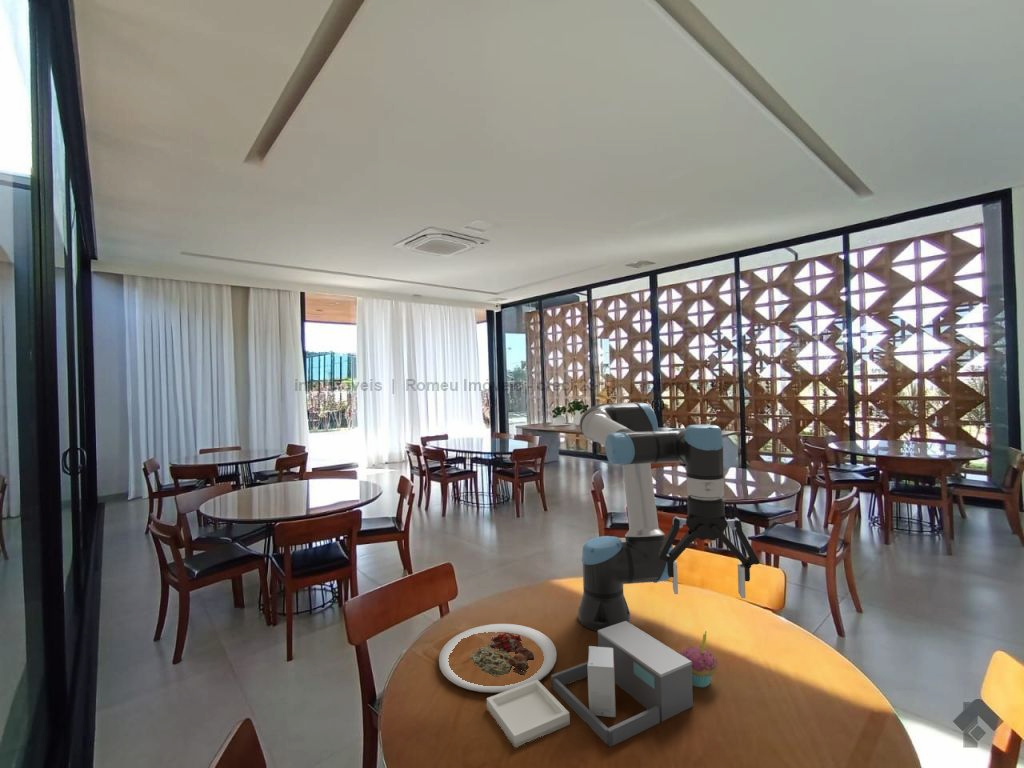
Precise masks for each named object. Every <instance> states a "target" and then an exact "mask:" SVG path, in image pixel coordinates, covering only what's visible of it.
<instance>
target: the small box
mask: <svg viewBox="0 0 1024 768" xmlns="http://www.w3.org/2000/svg"><path fill="white" fill-rule="evenodd" d="M587 659H588V660H587V662H588V665H587V668H588V677H587V691H588V709H589V710H590V711H591V712H592V713H593V714H594V715H595V716H596V717H607V718H616V716H617V715H616V714H617V713H616V683H615V671H614V651H613V648H608V647H598V646H594V645H593V646H592V645H589V646H588V657H587Z"/></svg>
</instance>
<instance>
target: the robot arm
mask: <svg viewBox="0 0 1024 768" xmlns="http://www.w3.org/2000/svg"><path fill="white" fill-rule="evenodd" d="M579 428H580V432H581V434H582V435H583V436H584V437H585V438H586V439H588V440H589V441H591V442H594V443H599V444H600V445H601V446H603V448H605V455H606V458H607V461H608V462H609V463H610V464H611V465H622V472H623V483H624V492H625V499H626V509H627V519H628V528H629V529H628V531H627V532H626V533H625V535H624V538H625V541H622V539H621V538H619V537H618V536H614V535H611V536H610V535H602V536H601V535H600V536H596V537H593V538H591V539H588V540H587V541H585V543H584V544H583V546H582V553H581V555H582V556H581V562H582V582H583V593H582V597H581V601H580V605H579V607H578V611H577V612H578V615H577V616H578V617H577V619H578V618H579V619H578V622H579V621H580V622H579V623H580V625H582V626H583V627H585V628H586V629H588V630H591V631H595V632H598V630H600V629H603V628H606V627H609V626H612V625H615V624H618V623H621V622H624V621H627V622H629V623H631V612H630V609H629V606H628V603H627V600H626V597H625V594H624V585H630V584H643V583H654V584H657V583H659V582H665V581H666V582H667V581H669V580H671V578H672V590H673V594H674V595H678V594H679V582H678V578H679V577H678V563H677V560H678V558H679V557H680V556H681V555H682V553H684V551H685V550H686V549H687V548H688V547H689V546H690V544H691V543H693V542H694V541H696V539H698V540H700V541H705V540H709V541H716V540H718V539H719V540H720V541H721V542H722V543H723V544H724V545H725V546H726V547H727V548H728V549H729V551H731V553H732V554H733V555H734V556H735V557H736V558H737V559H738V560H739V561H740V562H737V587H738V588H737V589H738V590H737V591H738V592H737V593H738V594H739V596H740V598H741V599H746V582H750V579H751V570H750V569H751V568H752V566H753V565H759V564H760V560H759V557H758V556H757V555H756V553H755V551H754V550H753V547H752V546H751V544H750V542H749V540H748V538H747V536H746V535H745V533H744V531H743V525H742V522H741V520H740V519H739V518H738V517H733V518H732V519H726V515H725V514H726V513H725V510H726V509H725V507H726V506H725V499H724V495H725V486H724V485H725V484H724V483H725V481H724V441H723V432H722V429H721V427H720V426H718V425H716V424H702V423H701V424H689V425H687V426H686V427H685V428H671V429H668V430H658V429H659V425H658V419H657V416H656V413H655V411H654V409H653V407H652V406H650V405H649V404H647V403H646V402H645V403H644V402H636V401H633V402H621V403H620V402H619V403H618V402H617V403H599V404H596V405H593V406H592V407H590V408H588V409H587V410H585V411H584V413H583V414H582V415H581V417H580V421H579ZM664 463H666V464H667V463H684V464H685V469H686V494H687V495H688V496H687V498H686V503H687V506H686V507H687V515H686V518H683V517H679V516H677V515H674V516H672V521H671V522H672V523H671V527H670V529H669V531H668V533H667V534H666V536H665V532H663V530H661V529H660V528H659V522H658V514H657V505H656V498H655V488H654V481H653V474H652V467H651V464H664ZM684 525H686V526H687V528H688V529H687V531H686V533H685V534H684V536H683V537H682V538H680V540H679V541H678V543H676V544H675V546H674V545H673V544H674V543H675V542H674V541H675V540H676V538H677V536H678V533H679V531H680V529H682V528H683V527H684ZM728 527H730V529H731V530H732V531H734V532H735V534H736V536H737V538H738V539H739V541H740V543H741V544H742V546H743V549H744V550H745V552H746V553H747V555H748V556H747V557H746V556H745V555H744V554H743V553H742V552H741V551H740V550H739V548H737V547H736V545H735V544H734V543H733V542H732V541H731V540H730V539H729V538H728V537H727V535H726V534H725V533H724V531H726V529H727V528H728Z"/></svg>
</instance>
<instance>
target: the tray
mask: <svg viewBox="0 0 1024 768" xmlns="http://www.w3.org/2000/svg"><path fill="white" fill-rule="evenodd" d="M487 708H488V709H489V711H490V712H491V714H492V715H493V717H494V718H495V719H496V721H497V723H498V724H499V726H500V727H501V728H500V727H499V726H498V727H499V728H500V730H501V729H502V730H503V731H504V733H505V734H506V735H505V734H504V733H503V734H504V735H505V737H506V736H507V737H508V738H507V737H506V738H507V739H509V740H510V741H511V742H510V741H509V740H508V741H509V742H510V744H511V743H512V744H513V745H512V744H511V745H512V746H514V747H517V746H519V745H522V744H524V743H526V742H529V741H531V740H533V739H536V738H538V737H540V738H542V737H544V735H545V736H547V735H549V734H551V733H553V732H554V733H555V732H556V731H557V730H560V729H562V728H565V727H567V726H569V725H571V724H570V723H571V722H570V720H571V719H570V712H569V710H568V709H566V708H565V707H564V705H562V704H561V702H560V701H559V700H558V699H557V698H556V697H555V696H554V695H553V694H552V693H551V692H550V691H549V690H548V688H546V687H545V686H544V685H543V684H542V682H541V681H538V680H534V681H532V682H529V683H526V684H524V685H521V686H518V687H516V688H513V689H510V690H508V691H505V692H499V693H497V694H495V695H491V696H489V697H487V698H486V709H487ZM491 714H490V715H491ZM493 717H492V718H493ZM496 721H495V722H496ZM497 723H496V724H497ZM498 724H497V725H498ZM502 730H501V731H502ZM503 731H502V732H503ZM546 734H547V735H546ZM541 736H542V737H541ZM538 739H539V738H538ZM536 740H537V739H536ZM533 741H534V740H533ZM531 742H532V741H531ZM529 743H530V742H529ZM524 745H525V744H524ZM522 746H523V745H522ZM514 747H513V748H514ZM517 748H518V747H517Z"/></svg>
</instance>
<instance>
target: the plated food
mask: <svg viewBox="0 0 1024 768" xmlns="http://www.w3.org/2000/svg"><path fill="white" fill-rule="evenodd" d="M484 632H486V633H488V632H495V633H497V632H505V633H504V634H502V635H501V634H498V635H497V637H494V636H492V637H491V641H492V643H491V644H490V646H489V645H486V646H487V647H481V648H477V649H479V650H478V651H476V653H475V654H472V653H470V654H471V655H470V657H469V658H470V659H471V658H472V659H473V662H474V665H475V666H477V665H478V666H479V667H481V668H482V669H481V671H484V673H486V672H487V673H489V674H491V675H492V676H494V677H499V676H500V675H504V674H508V673H509V672H510V670H511V668H512V666H514V667H515V668H514V669H513V670H514V671H513V672H515V673H518V674H520V675H524V676H525V674H526V672H527V671H526V670H527V669H528V668H529V666H528V663H527V661H528V660H534V653H533V652H532V651H530V650H528V649H527V648H525V647H523V646H522V645H523V644H522V643H521V642H520V641H522V640H521V638H520V635H521V636H524V637H526V638H529V639H531V640H532V641H534V642H535V643H536V644H537V645H538V646H539V647H540V648H541V650H542V652H543V656H544V661H543V664H542V666H541V668H540V669H539V670H538V671H537V673H535V674H534V675H533V676H531V677H530V678H528V679H526V680H524V681H521V682H518V683H515V684H510V685H505V686H483V685H478V684H474V683H470V682H467V681H465V680H462V678H460V677H458V675H456V674H455V673H454V672H453V670H451V668H450V666H449V662H448V661H449V659H448V658H449V655H450V653H452V652H453V651H452V650H453V649H454V648H455V646H456V645H457V644H458V642H460V641H461V639H463V638H467V637H469V636H471V635H473V634H478V633H484ZM510 633H513V634H518V636H514V635H513V634H510ZM493 637H494V638H493ZM493 648H494V649H493ZM509 652H515V654H516V655H515V656H513V657H512V656H511V655H509V654H508V653H509ZM438 656H439V657H438V665H439V666H438V667H439V669H440V671H441V673H442V675H443V676H444V677H445V678H446V679H447V680H448V681H449V682H452V684H454V685H456V686H458V687H460V688H463V689H466V690H469V691H472V692H473V691H474V692H478V693H491V694H492V693H493V694H494V693H502V692H505V691H508V690H510V689H513V688H516V687H518V686H521V685H524V684H526V683H529V682H532V681H534V680H538V681H539V682H541V680H543V678H545V677H546V676H548V675H549V673H550V672H551V671H552V670H553V669H554V667H555V665H556V662H557V657H558V655H557V649H556V646H555V644H554V643H553V641H552V640H551V639H550V638H549V637H548V636H547V635H545V634H544V633H542V632H541V631H539V630H537V629H534V628H532V627H529V626H524V625H519V624H515V623H514V624H513V623H490V624H483V625H480V626H476V627H473V628H469V629H468V630H464V631H462V632H461V633H459V634H457V635H455V636H453V637H452V638H451V639H450V640H448V641H447V642H446V644H445V645H444V646H443V647H442V648H441V651H440V653H439V655H438ZM470 661H471V660H470ZM521 670H522V671H521ZM523 671H524V672H523Z"/></svg>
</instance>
